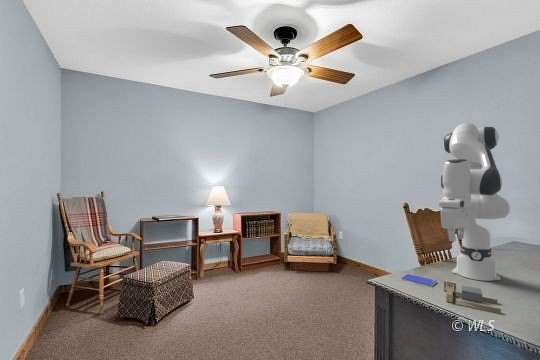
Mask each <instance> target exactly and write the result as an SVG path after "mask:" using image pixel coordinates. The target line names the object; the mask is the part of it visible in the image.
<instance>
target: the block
mask: <svg viewBox="0 0 540 360" xmlns="http://www.w3.org/2000/svg"><path fill="white" fill-rule="evenodd" d="M461 292H462V297H461V300H466V301H471V302H476V303H481V304H483V301H482V296H483V291H482V289H481V288H479V287H472V286H469V285H468V286H466V285H461Z"/></svg>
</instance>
